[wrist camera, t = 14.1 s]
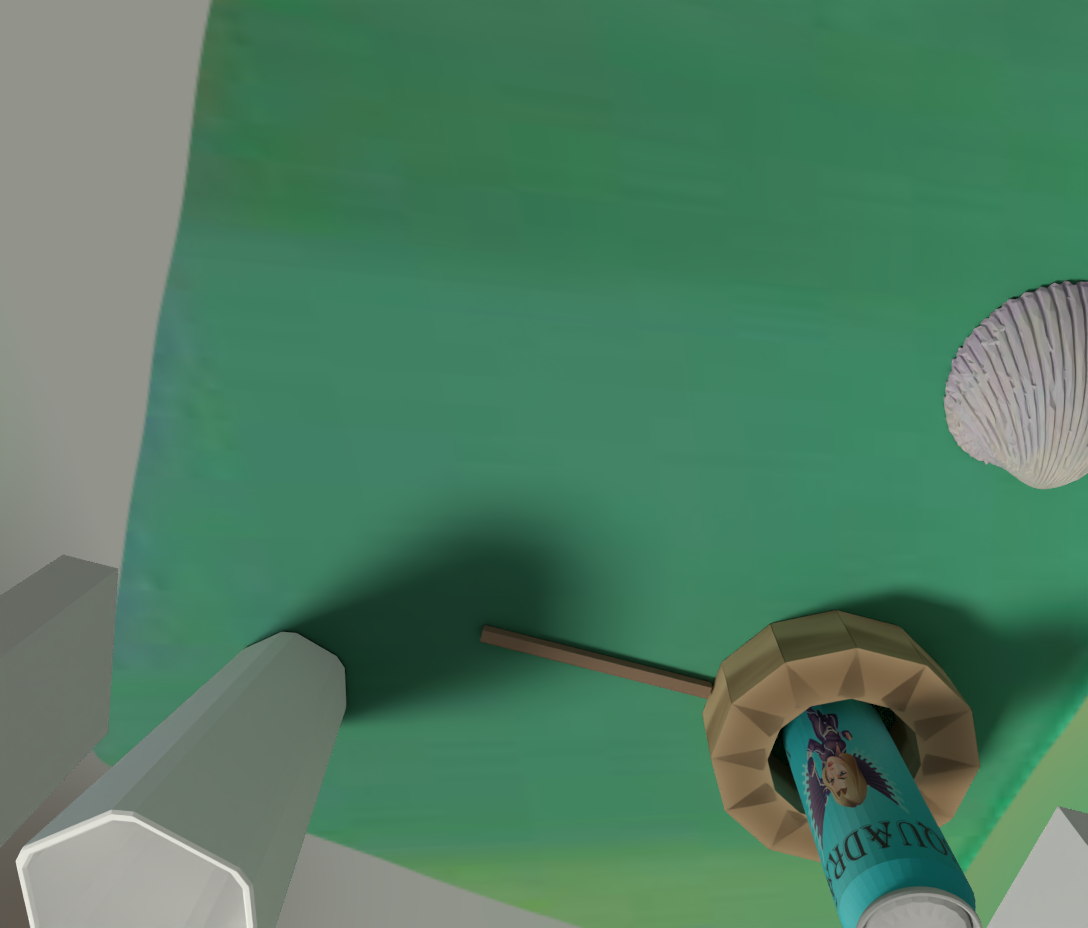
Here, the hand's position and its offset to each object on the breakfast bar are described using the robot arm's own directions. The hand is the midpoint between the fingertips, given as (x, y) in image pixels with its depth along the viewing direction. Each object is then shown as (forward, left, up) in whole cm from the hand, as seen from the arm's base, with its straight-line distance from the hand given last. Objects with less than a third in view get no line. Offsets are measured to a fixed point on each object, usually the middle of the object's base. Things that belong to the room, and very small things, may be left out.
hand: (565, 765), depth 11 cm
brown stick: (+18, +5, -32) cm, 37 cm away
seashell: (-4, +23, -32) cm, 40 cm away
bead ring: (+18, +19, -32) cm, 41 cm away
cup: (+25, -13, -32) cm, 43 cm away
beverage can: (+18, +19, -32) cm, 41 cm away
